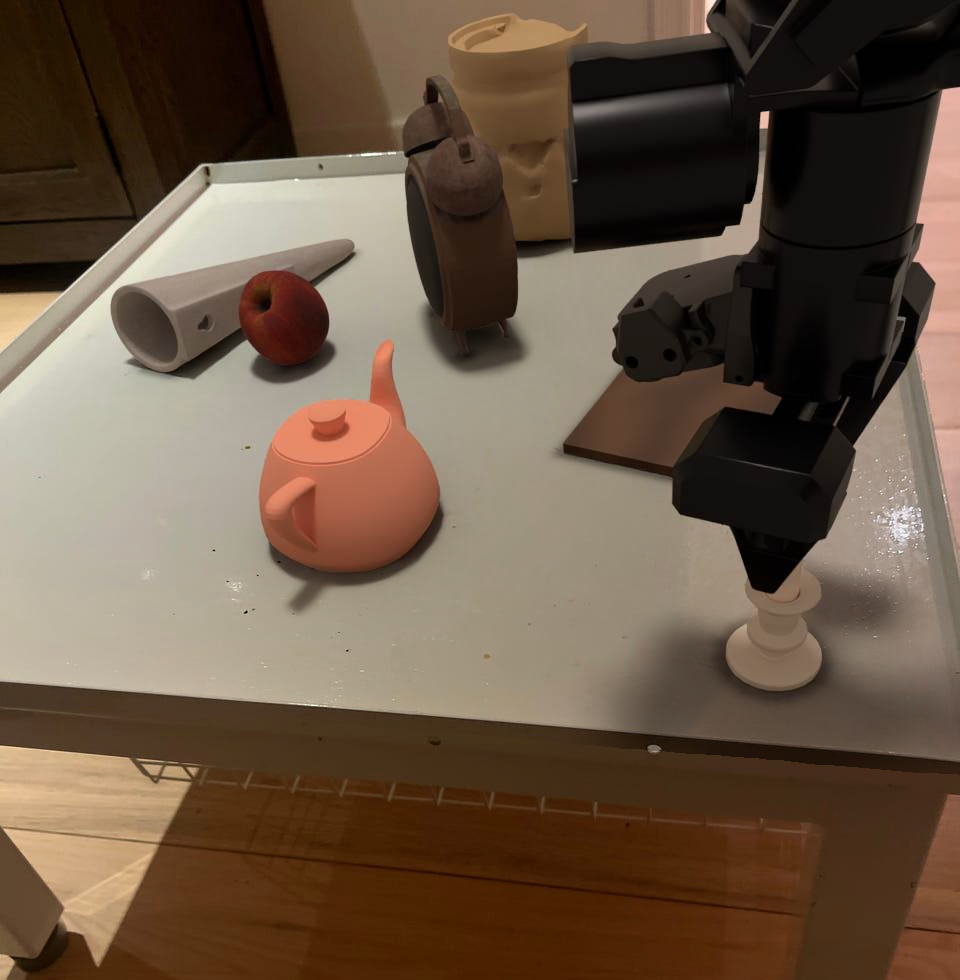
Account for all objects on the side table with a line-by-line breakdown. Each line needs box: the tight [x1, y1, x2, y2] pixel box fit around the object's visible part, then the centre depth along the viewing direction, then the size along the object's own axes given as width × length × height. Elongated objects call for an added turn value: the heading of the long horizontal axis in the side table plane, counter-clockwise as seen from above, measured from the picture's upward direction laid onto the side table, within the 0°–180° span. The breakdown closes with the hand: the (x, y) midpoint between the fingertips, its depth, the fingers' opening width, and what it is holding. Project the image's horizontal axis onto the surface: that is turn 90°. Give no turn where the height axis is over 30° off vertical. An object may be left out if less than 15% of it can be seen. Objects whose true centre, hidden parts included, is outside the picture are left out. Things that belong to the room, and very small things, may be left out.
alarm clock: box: [401, 74, 519, 357], centre depth 78 cm, size 15×7×20 cm, turn 15°
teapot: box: [258, 339, 441, 573], centre depth 65 cm, size 12×18×10 cm
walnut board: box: [562, 363, 782, 477], centre depth 73 cm, size 14×20×1 cm
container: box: [447, 12, 589, 242], centre depth 92 cm, size 13×13×18 cm
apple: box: [238, 270, 330, 366], centre depth 83 cm, size 7×8×8 cm
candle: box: [725, 558, 823, 692], centre depth 51 cm, size 5×5×10 cm
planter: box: [110, 238, 356, 373], centre depth 93 cm, size 8×9×26 cm
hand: (792, 531), depth 48 cm, fingers open, 9 cm apart
